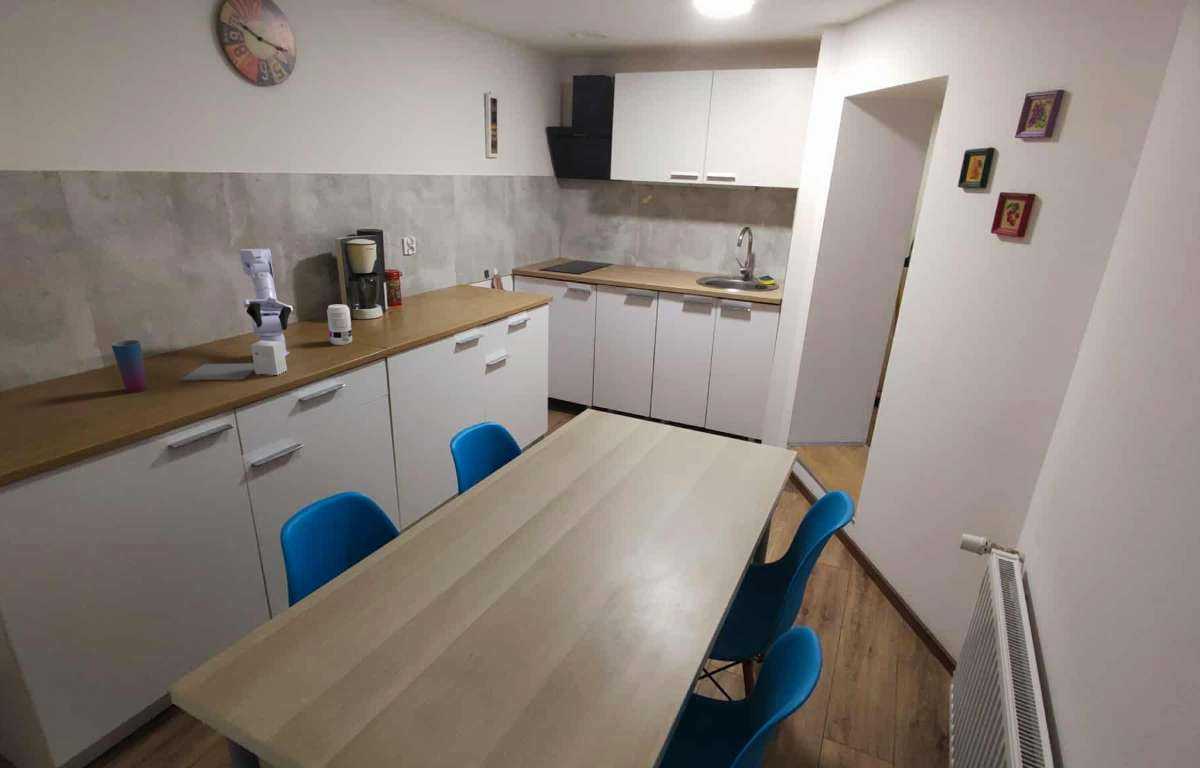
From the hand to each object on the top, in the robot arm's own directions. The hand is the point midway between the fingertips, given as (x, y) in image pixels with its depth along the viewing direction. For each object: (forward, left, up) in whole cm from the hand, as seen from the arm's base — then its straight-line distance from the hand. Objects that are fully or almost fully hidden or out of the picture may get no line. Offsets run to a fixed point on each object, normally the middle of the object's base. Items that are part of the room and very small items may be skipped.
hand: (272, 327), depth 192 cm
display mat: (-4, -19, -17) cm, 26 cm away
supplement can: (-41, +10, -17) cm, 46 cm away
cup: (+12, -37, -17) cm, 42 cm away
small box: (-4, -4, -17) cm, 18 cm away
